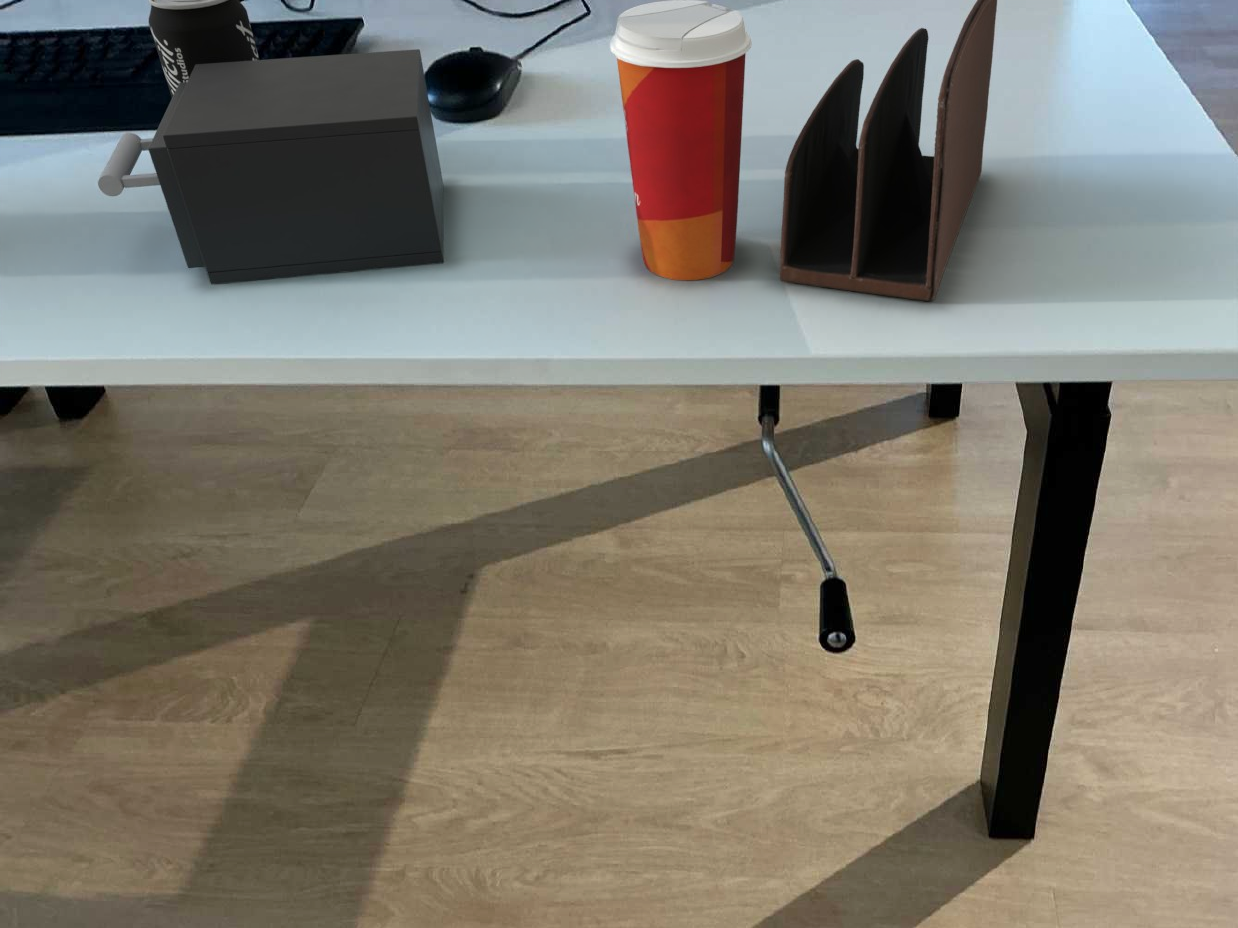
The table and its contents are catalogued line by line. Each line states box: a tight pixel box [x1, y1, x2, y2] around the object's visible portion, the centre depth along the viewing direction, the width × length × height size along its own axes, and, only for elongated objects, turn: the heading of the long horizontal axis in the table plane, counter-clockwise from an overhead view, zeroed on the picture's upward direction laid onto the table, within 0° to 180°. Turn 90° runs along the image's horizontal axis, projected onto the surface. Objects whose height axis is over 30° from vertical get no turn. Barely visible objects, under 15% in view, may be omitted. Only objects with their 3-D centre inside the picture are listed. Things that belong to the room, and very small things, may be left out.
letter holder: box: [778, 0, 998, 302], centre depth 77 cm, size 10×20×14 cm, turn 163°
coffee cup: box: [609, 0, 753, 281], centre depth 73 cm, size 8×8×15 cm
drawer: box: [97, 82, 205, 269], centre depth 78 cm, size 18×11×8 cm, turn 101°
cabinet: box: [163, 48, 445, 285], centre depth 79 cm, size 15×13×10 cm
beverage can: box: [148, 0, 260, 99], centre depth 87 cm, size 7×7×12 cm
